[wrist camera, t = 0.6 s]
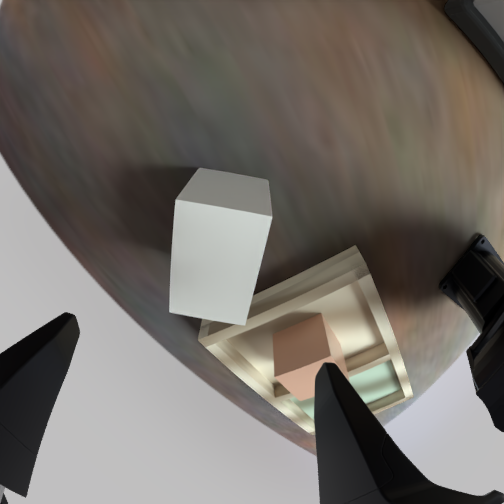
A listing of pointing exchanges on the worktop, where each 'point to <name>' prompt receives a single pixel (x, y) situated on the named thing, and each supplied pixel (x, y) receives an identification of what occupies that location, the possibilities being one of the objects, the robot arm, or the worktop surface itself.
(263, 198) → the block
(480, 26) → the container
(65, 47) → the worktop surface
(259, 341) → the slot cradle
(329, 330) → the terracotta block
